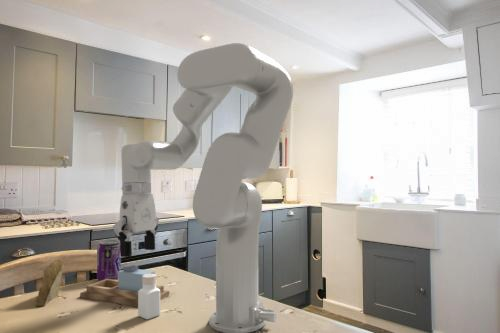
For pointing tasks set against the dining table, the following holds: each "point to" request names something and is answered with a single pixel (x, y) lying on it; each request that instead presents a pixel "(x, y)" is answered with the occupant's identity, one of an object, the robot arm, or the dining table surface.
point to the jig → (115, 293)
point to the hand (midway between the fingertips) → (138, 253)
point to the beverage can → (108, 260)
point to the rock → (50, 283)
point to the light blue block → (131, 278)
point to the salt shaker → (149, 297)
